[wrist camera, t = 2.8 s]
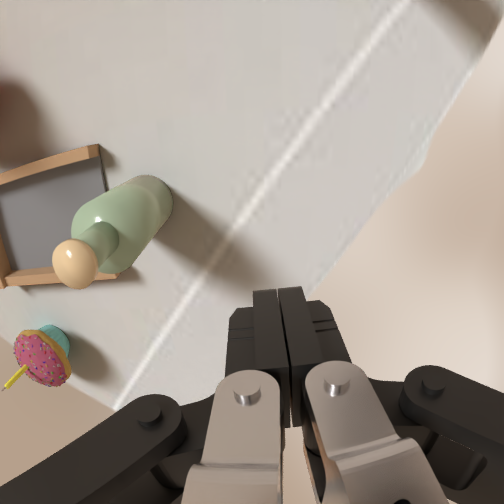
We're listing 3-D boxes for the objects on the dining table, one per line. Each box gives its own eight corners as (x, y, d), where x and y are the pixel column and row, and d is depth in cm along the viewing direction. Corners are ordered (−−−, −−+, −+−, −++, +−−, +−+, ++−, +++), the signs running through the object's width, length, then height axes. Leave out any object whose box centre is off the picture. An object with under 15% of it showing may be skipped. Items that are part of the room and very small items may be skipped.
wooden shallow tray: (98, 143, 27) (84, 146, 24) (124, 268, 32) (114, 281, 29) (-16, 180, 27) (-32, 186, 25) (11, 278, 32) (-2, 288, 30)
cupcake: (35, 349, 37) (-4, 404, 26) (28, 303, 34) (-21, 357, 23) (83, 370, 38) (51, 432, 27) (81, 324, 35) (38, 390, 24)
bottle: (168, 170, 28) (100, 213, 15) (177, 225, 30) (125, 306, 17) (116, 179, 28) (26, 227, 15) (126, 232, 30) (53, 308, 17)
